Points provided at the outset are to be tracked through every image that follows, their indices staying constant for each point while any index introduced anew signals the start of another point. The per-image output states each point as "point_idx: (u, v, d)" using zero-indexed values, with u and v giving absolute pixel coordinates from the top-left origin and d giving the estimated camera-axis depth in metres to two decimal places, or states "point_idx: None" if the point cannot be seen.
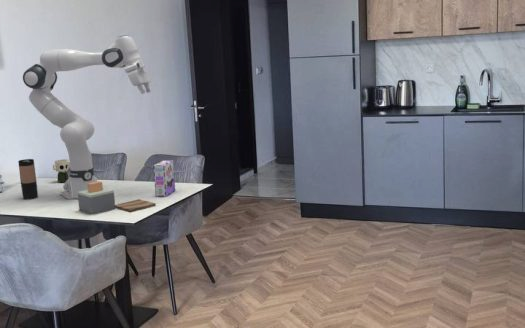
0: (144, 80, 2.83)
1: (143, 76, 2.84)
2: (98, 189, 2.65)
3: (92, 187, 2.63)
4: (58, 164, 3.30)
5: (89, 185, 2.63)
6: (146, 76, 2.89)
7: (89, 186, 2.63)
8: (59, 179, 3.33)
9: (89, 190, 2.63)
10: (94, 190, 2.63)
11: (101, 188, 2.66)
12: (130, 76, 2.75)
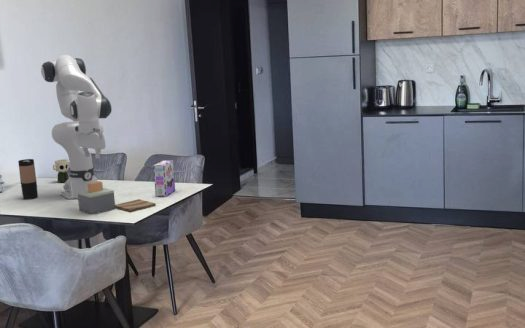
0: (86, 145, 2.61)
1: (87, 141, 2.60)
2: (98, 189, 2.65)
3: (92, 187, 2.63)
4: (58, 164, 3.30)
5: (89, 185, 2.63)
6: (93, 142, 2.56)
7: (89, 186, 2.63)
8: (59, 179, 3.33)
9: (89, 190, 2.63)
10: (94, 190, 2.63)
11: (101, 188, 2.66)
12: None
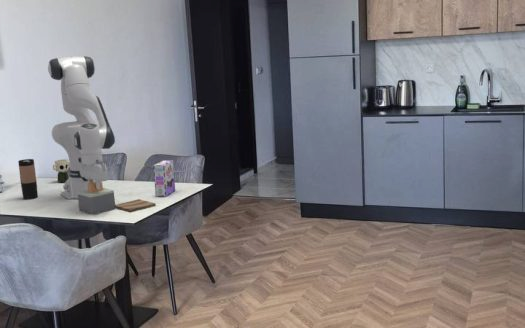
0: (89, 176, 2.64)
1: (90, 172, 2.62)
2: (98, 189, 2.65)
3: (92, 187, 2.63)
4: (58, 164, 3.30)
5: (89, 185, 2.63)
6: (96, 174, 2.59)
7: (89, 186, 2.63)
8: (59, 179, 3.33)
9: (89, 190, 2.63)
10: (94, 190, 2.63)
11: (101, 188, 2.66)
12: None
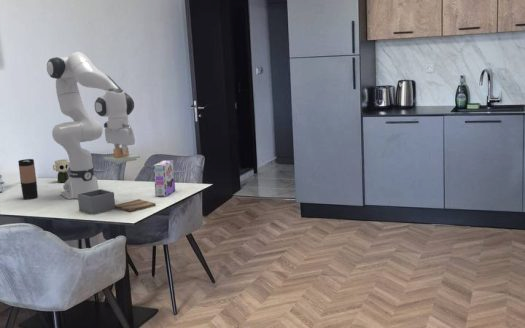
0: (115, 141, 2.63)
1: (117, 137, 2.61)
2: (124, 154, 2.64)
3: (118, 152, 2.61)
4: (58, 164, 3.30)
5: (115, 150, 2.61)
6: (122, 138, 2.58)
7: (115, 151, 2.62)
8: (59, 179, 3.33)
9: (116, 155, 2.62)
10: (120, 155, 2.62)
11: (127, 153, 2.65)
12: None
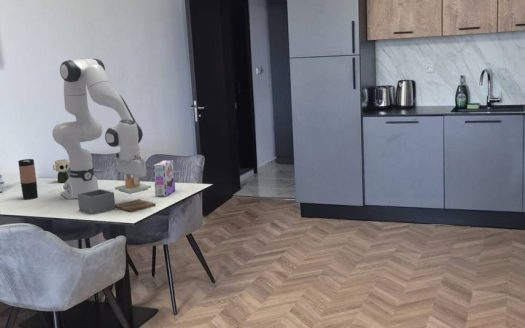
0: (127, 171, 2.66)
1: (128, 167, 2.65)
2: None
3: (130, 182, 2.65)
4: (58, 164, 3.30)
5: (127, 180, 2.65)
6: (134, 169, 2.61)
7: (127, 181, 2.65)
8: (59, 179, 3.33)
9: (127, 185, 2.66)
10: (132, 185, 2.66)
11: (138, 183, 2.68)
12: None
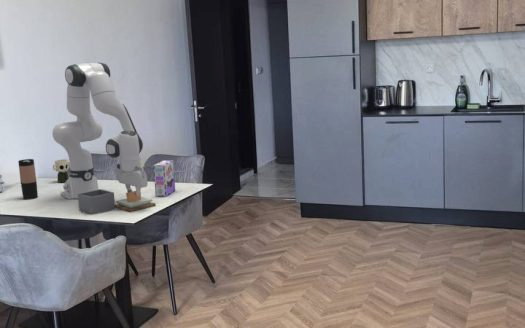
0: (128, 182, 2.67)
1: (129, 178, 2.66)
2: (137, 198, 2.69)
3: (131, 196, 2.66)
4: (58, 164, 3.30)
5: (128, 194, 2.66)
6: (135, 180, 2.62)
7: (128, 195, 2.66)
8: (59, 179, 3.33)
9: (128, 199, 2.67)
10: (133, 199, 2.67)
11: (139, 197, 2.70)
12: None
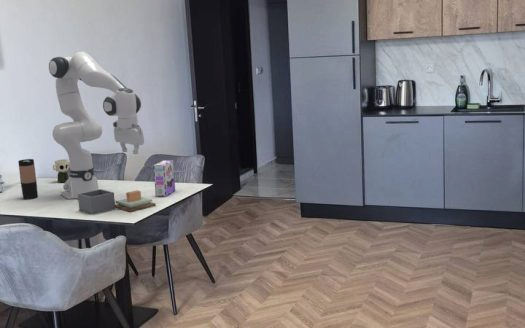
0: (125, 140, 2.65)
1: (126, 136, 2.64)
2: (137, 198, 2.69)
3: (131, 196, 2.66)
4: (58, 164, 3.30)
5: (128, 194, 2.66)
6: (132, 138, 2.61)
7: (128, 195, 2.66)
8: (59, 179, 3.33)
9: (128, 199, 2.67)
10: (133, 199, 2.67)
11: (139, 197, 2.70)
12: None
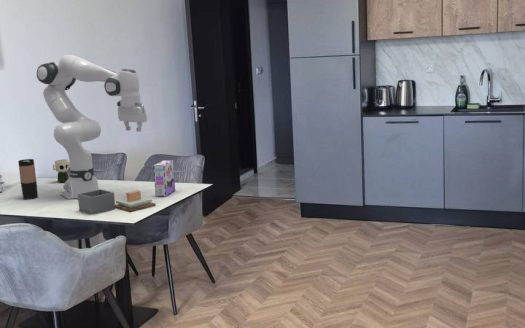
0: (128, 119, 2.79)
1: (129, 115, 2.77)
2: (137, 198, 2.69)
3: (131, 196, 2.66)
4: (58, 164, 3.30)
5: (128, 194, 2.66)
6: (135, 115, 2.74)
7: (128, 195, 2.66)
8: (59, 179, 3.33)
9: (128, 199, 2.67)
10: (133, 199, 2.67)
11: (139, 197, 2.70)
12: None
